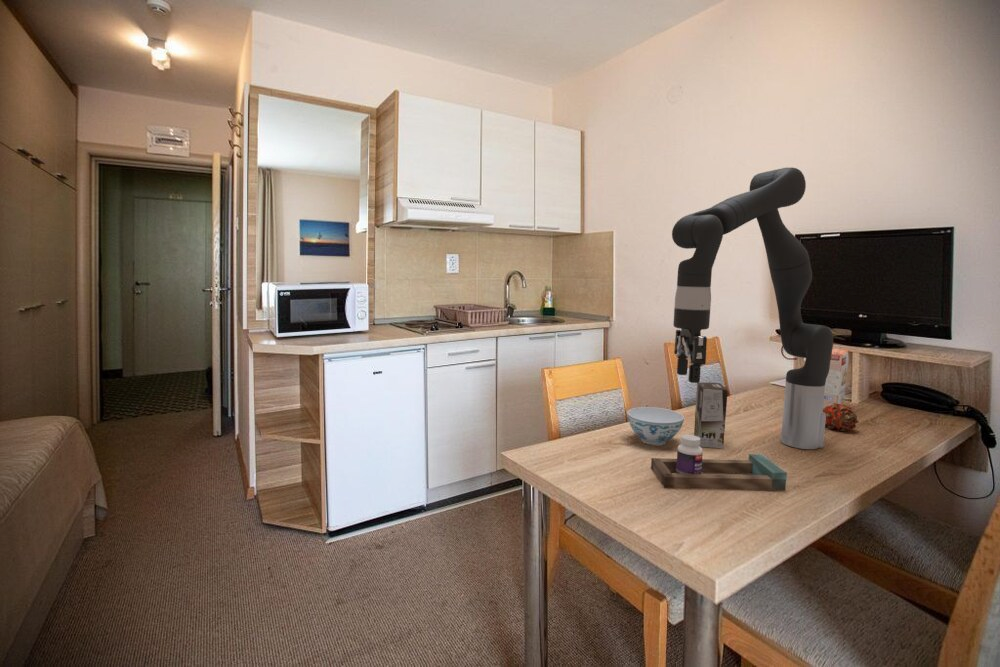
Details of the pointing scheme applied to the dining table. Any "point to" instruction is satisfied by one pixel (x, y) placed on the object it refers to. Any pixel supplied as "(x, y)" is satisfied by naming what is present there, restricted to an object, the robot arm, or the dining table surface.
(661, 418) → the chinaware
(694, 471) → the pill bottle
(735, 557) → the dining table surface
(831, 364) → the cracker box
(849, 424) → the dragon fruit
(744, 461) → the channel
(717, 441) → the coffee box
